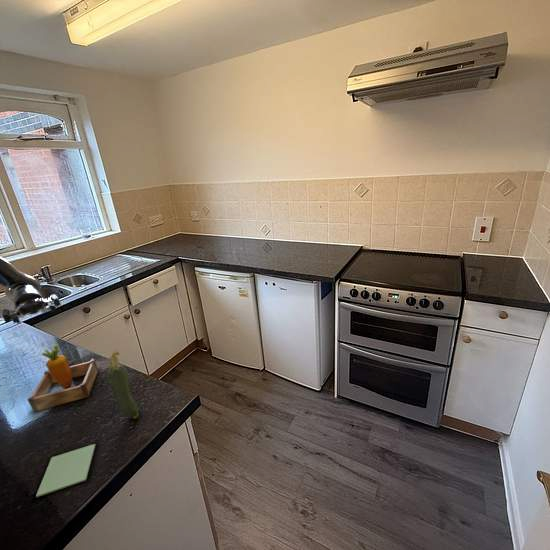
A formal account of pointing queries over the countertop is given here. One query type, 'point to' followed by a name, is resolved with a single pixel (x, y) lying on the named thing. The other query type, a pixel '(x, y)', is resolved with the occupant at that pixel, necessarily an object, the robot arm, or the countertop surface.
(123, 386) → the vegetable
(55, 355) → the carrot
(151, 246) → the countertop surface
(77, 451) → the mat
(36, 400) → the crate
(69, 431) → the countertop surface
